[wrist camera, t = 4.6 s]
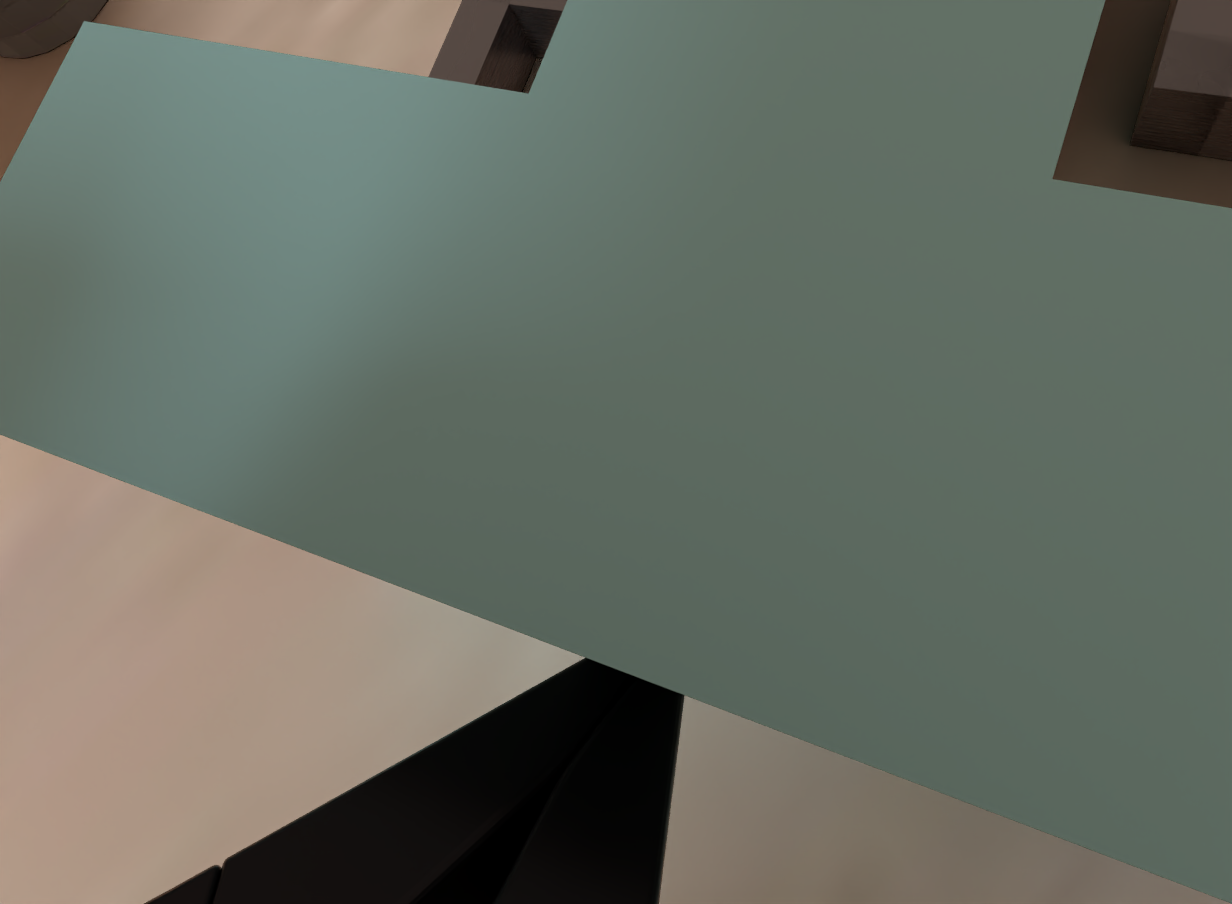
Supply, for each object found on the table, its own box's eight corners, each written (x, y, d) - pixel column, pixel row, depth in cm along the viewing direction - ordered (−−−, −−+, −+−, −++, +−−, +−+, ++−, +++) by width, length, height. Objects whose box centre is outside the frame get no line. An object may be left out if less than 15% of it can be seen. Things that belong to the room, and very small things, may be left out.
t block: (1269, 893, 12) (2074, 1223, 4) (378, 561, 17) (-110, 393, 9) (1466, -16, 15) (2213, -981, 6) (641, -87, 20) (460, -699, 11)
